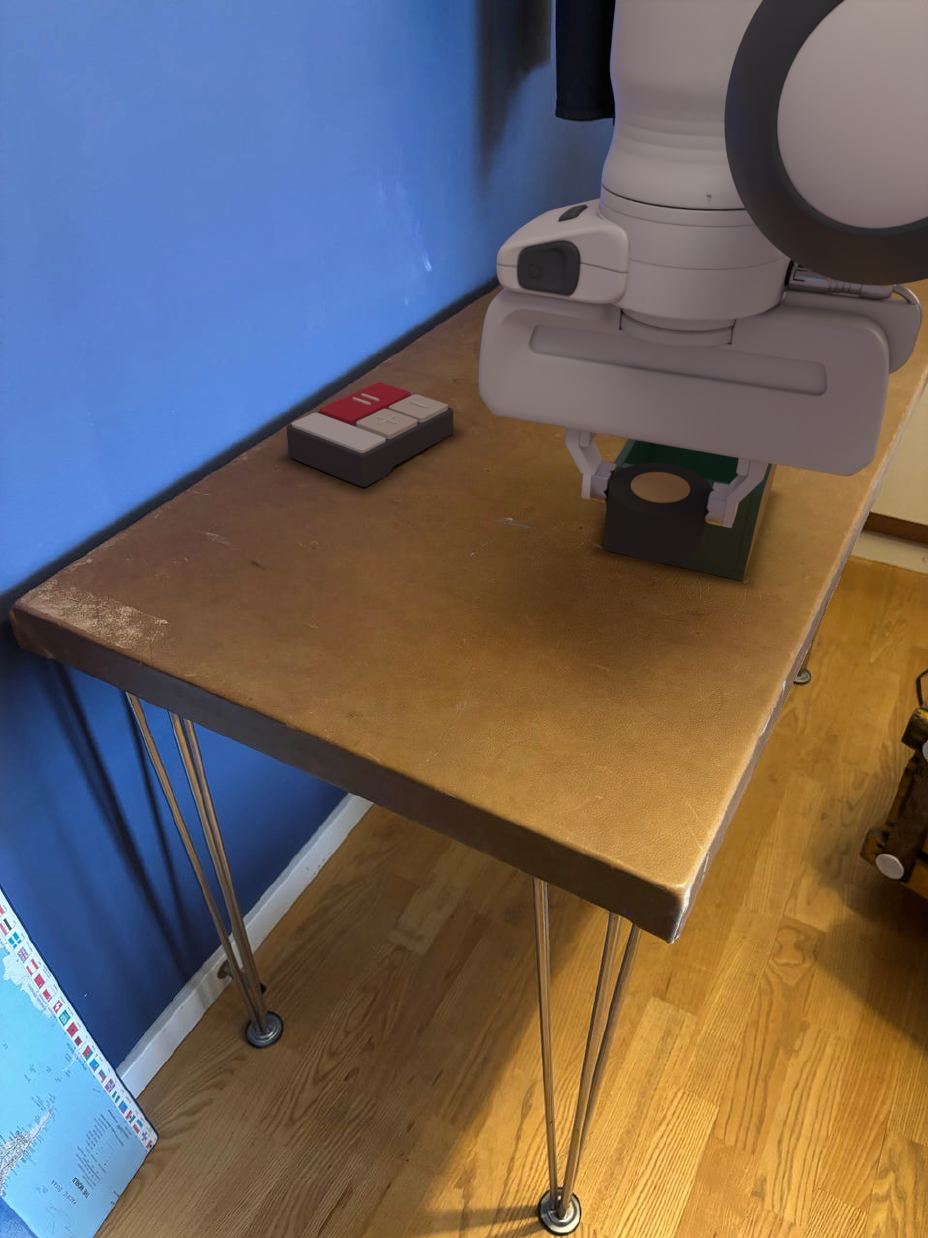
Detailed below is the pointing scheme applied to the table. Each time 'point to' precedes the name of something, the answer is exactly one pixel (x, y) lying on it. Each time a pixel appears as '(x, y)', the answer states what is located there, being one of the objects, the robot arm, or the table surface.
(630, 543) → the tape
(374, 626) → the table surface
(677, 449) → the tin box
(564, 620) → the table surface
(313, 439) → the calculator
